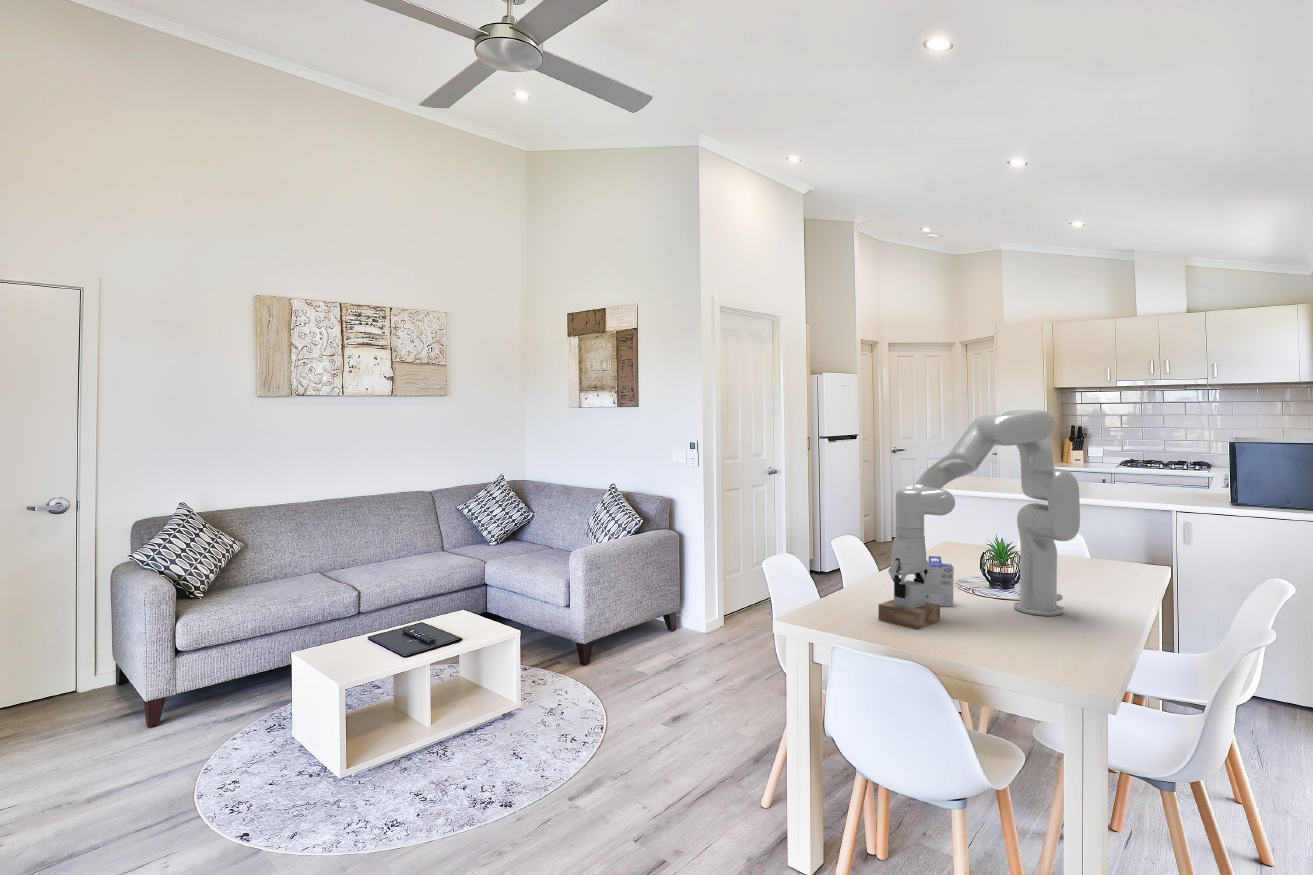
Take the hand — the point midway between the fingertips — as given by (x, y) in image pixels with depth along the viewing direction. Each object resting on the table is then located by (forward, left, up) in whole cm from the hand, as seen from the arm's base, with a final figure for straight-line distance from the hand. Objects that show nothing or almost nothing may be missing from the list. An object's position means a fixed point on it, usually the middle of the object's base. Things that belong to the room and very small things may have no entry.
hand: (909, 594), depth 198 cm
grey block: (0, 0, -3) cm, 3 cm away
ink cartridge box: (-21, -7, -8) cm, 23 cm away
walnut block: (0, 0, -8) cm, 8 cm away
